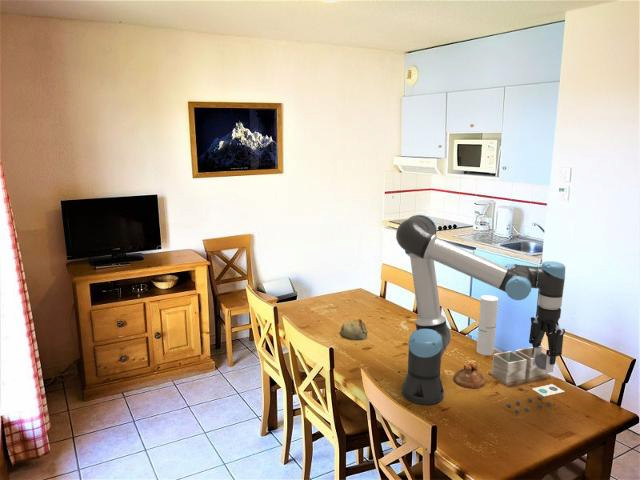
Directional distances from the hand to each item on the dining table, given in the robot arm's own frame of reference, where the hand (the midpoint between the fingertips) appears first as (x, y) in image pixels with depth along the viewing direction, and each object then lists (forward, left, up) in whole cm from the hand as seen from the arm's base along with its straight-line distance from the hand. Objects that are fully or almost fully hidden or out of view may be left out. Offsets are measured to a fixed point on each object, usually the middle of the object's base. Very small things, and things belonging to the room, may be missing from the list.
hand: (542, 368), depth 179 cm
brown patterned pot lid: (-15, +21, -13) cm, 29 cm away
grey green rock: (-37, +78, -13) cm, 87 cm away
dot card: (+9, +5, -13) cm, 16 cm away
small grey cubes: (-6, -1, -13) cm, 14 cm away
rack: (+7, +18, -13) cm, 23 cm away
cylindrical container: (+9, +41, -13) cm, 44 cm away
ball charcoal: (0, 0, 0) cm, 0 cm away
